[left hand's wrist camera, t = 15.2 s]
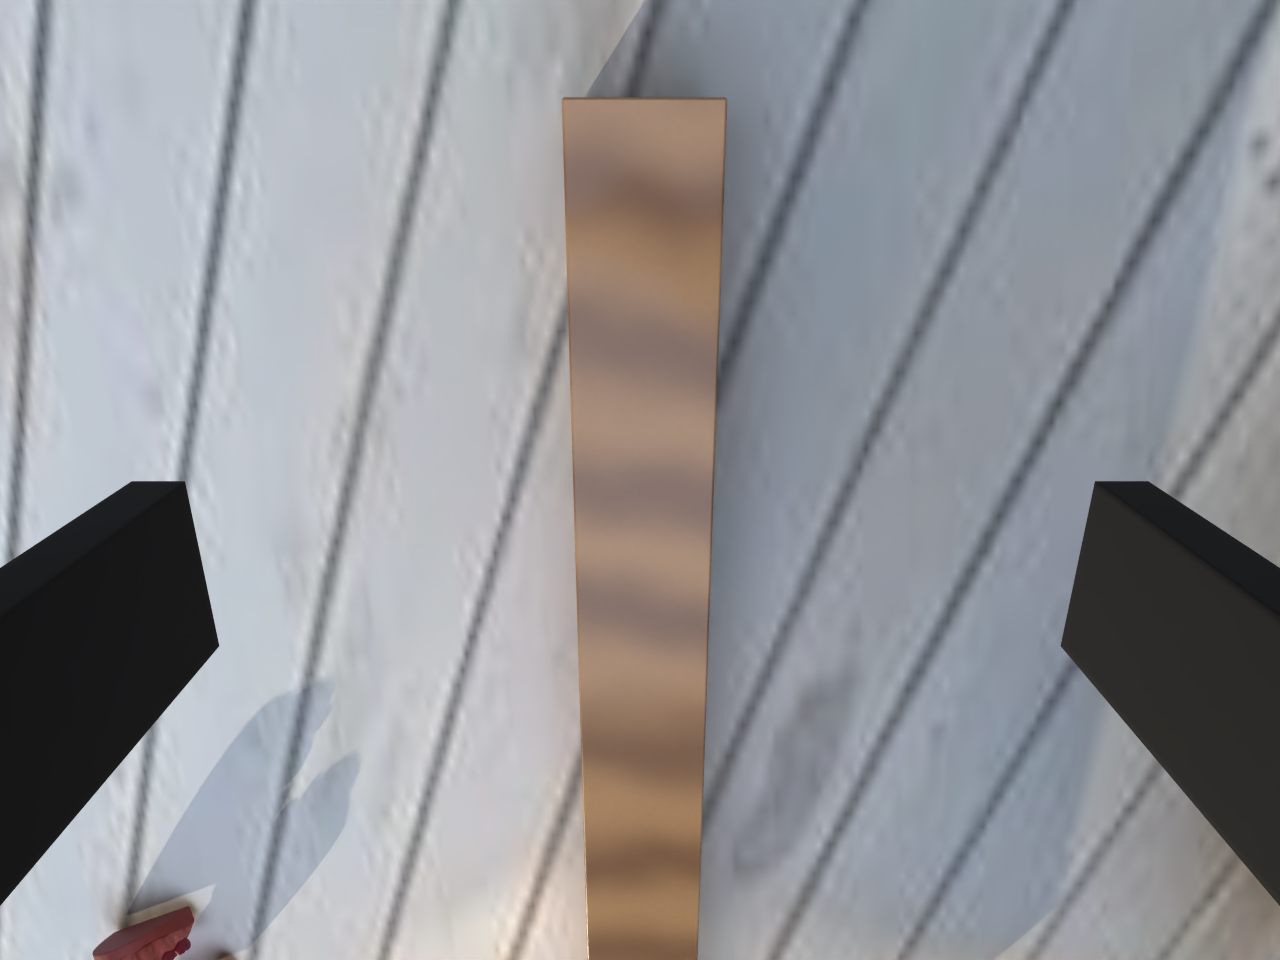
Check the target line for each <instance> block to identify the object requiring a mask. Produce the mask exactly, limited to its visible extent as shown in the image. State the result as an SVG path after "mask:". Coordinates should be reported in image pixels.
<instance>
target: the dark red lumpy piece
mask: <svg viewBox="0 0 1280 960" xmlns="http://www.w3.org/2000/svg"><path fill="white" fill-rule="evenodd" d="M193 923H194V918H193V915H192V912H191V910H190V907H185V908H182V909H179V910H176V911H173V912H170V913H168V914H165V915H162V916H159V917H156V918H153V919H150V920H148V921H145V922H142V923H139V924H136V925H134V926H131V927H128V928H125V929H122V930H120V931H117V932H115V933H113V934H112V935H111V936H109V937H108V938H107V939H105V940H104V941H103V942H102V943H101V944H100V945H98V946H97V947H96V949H95V950H94V951H93V957H94V959H95V960H173V959H174V958H175V957H176V956H177V954H178V955H181V954H182V953H184V952H185V951H186V950H188V949H189V948H190V946H191V944H190V941H189V940H188V939H187V937H188V935H189V933H190V931H191V928H192V926H193Z"/></svg>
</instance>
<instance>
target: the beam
mask: <svg viewBox="0 0 1280 960" xmlns="http://www.w3.org/2000/svg"><path fill="white" fill-rule="evenodd" d="M726 115H727V99H726V98H632V97H564V98H563V99H562V120H563V153H564V187H565V220H566V254H567V287H568V321H569V354H570V388H571V421H572V455H573V489H574V522H575V556H576V589H577V623H578V656H579V690H580V723H581V757H582V790H583V824H584V857H585V891H586V924H587V958H588V960H697V953H698V924H699V895H700V866H701V837H702V809H703V780H704V751H705V722H706V693H707V664H708V635H709V606H710V577H711V548H712V520H713V491H714V462H715V433H716V404H717V375H718V346H719V317H720V288H721V259H722V231H723V202H724V173H725V144H726Z"/></svg>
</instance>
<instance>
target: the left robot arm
mask: <svg viewBox="0 0 1280 960" xmlns="http://www.w3.org/2000/svg"><path fill="white" fill-rule="evenodd" d="M218 647H219V643H218V638H217V633H216V628H215V623H214V619H213V614H212V609H211V604H210V599H209V595H208V590H207V585H206V580H205V575H204V571H203V566H202V561H201V556H200V551H199V547H198V542H197V537H196V532H195V527H194V523H193V518H192V513H191V508H190V503H189V499H188V494H187V489H186V484H185V481H132V482H130V483H129V484H127V485H126V486H124V487H123V488H121V489H120V490H118V491H116V492H115V493H113V494H112V495H110V496H109V497H107V498H106V499H104V500H103V501H101V502H100V503H98V504H97V505H95V506H94V507H92V508H91V509H89V510H88V511H86V512H85V513H83V514H82V515H80V516H79V517H77V518H75V519H74V520H72V521H71V522H69V523H68V524H66V525H65V526H63V527H62V528H60V529H59V530H57V531H56V532H54V533H53V534H51V535H50V536H48V537H47V538H45V539H44V540H42V541H41V542H39V543H37V544H36V545H34V546H33V547H31V548H30V549H28V550H27V551H25V552H24V553H22V554H21V555H19V556H18V557H16V558H15V559H13V560H12V561H10V562H9V563H7V564H6V565H4V566H3V567H1V568H0V905H1V904H2V903H3V902H4V901H5V899H6V898H7V897H8V896H9V895H10V894H11V892H12V891H13V890H14V889H15V888H16V886H17V885H18V884H19V883H20V882H21V880H22V879H23V878H24V877H25V876H26V875H27V873H28V872H29V871H30V870H31V869H32V867H33V866H34V865H35V864H36V863H37V861H38V860H39V859H40V858H41V857H42V856H43V854H44V853H45V852H46V851H47V850H48V848H49V847H50V846H51V845H52V844H53V843H54V841H55V840H56V839H57V838H58V837H59V835H60V834H61V833H62V832H63V831H64V829H65V828H66V827H67V826H68V825H69V824H70V822H71V821H72V820H73V819H74V818H75V816H76V815H77V814H78V813H79V812H80V810H81V809H82V808H83V807H84V806H85V805H86V803H87V802H88V801H89V800H90V799H91V797H92V796H93V795H94V794H95V793H96V792H97V790H98V789H99V788H100V787H101V786H102V784H103V783H104V782H105V781H106V780H107V778H108V777H109V776H110V775H111V774H112V773H113V771H114V770H115V769H116V768H117V767H118V765H119V764H120V763H121V762H122V761H123V759H124V758H125V757H126V756H127V755H128V754H129V752H130V751H131V750H132V749H133V748H134V746H135V745H136V744H137V743H138V742H139V741H140V739H141V738H142V737H143V736H144V735H145V733H146V732H147V731H148V730H149V729H150V727H151V726H152V725H153V724H154V723H155V722H156V720H157V719H158V718H159V717H160V716H161V714H162V713H163V712H164V711H165V710H166V709H167V707H168V706H169V705H170V704H171V703H172V701H173V700H174V699H175V698H176V697H177V695H178V694H179V693H180V692H181V691H182V690H183V688H184V687H185V686H186V685H187V684H188V682H189V681H190V680H191V679H192V678H193V676H194V675H195V674H196V673H197V672H198V671H199V669H200V668H201V667H202V666H203V665H204V663H205V662H206V661H207V660H208V659H209V658H210V656H211V655H212V654H213V653H214V652H215V650H216V649H217V648H218ZM1061 647H1062V648H1063V649H1064V650H1065V652H1066V653H1067V654H1068V655H1069V656H1070V658H1071V659H1072V660H1073V661H1074V662H1075V663H1076V665H1077V666H1078V667H1079V668H1080V669H1081V671H1082V672H1083V673H1084V674H1085V675H1086V676H1087V678H1088V679H1089V680H1090V681H1091V682H1092V684H1093V685H1094V686H1095V687H1096V688H1097V690H1098V691H1099V692H1100V693H1101V694H1102V695H1103V697H1104V698H1105V699H1106V700H1107V701H1108V703H1109V704H1110V705H1111V706H1112V707H1113V709H1114V710H1115V711H1116V712H1117V713H1118V714H1119V716H1120V717H1121V718H1122V719H1123V720H1124V722H1125V723H1126V724H1127V725H1128V726H1129V727H1130V729H1131V730H1132V731H1133V732H1134V733H1135V735H1136V736H1137V737H1138V738H1139V739H1140V741H1141V742H1142V743H1143V744H1144V745H1145V746H1146V748H1147V749H1148V750H1149V751H1150V752H1151V754H1152V755H1153V756H1154V757H1155V758H1156V759H1157V761H1158V762H1159V763H1160V764H1161V765H1162V767H1163V768H1164V769H1165V770H1166V771H1167V773H1168V774H1169V775H1170V776H1171V777H1172V778H1173V780H1174V781H1175V782H1176V783H1177V784H1178V786H1179V787H1180V788H1181V789H1182V790H1183V792H1184V793H1185V794H1186V795H1187V796H1188V797H1189V799H1190V800H1191V801H1192V802H1193V803H1194V805H1195V806H1196V807H1197V808H1198V809H1199V810H1200V812H1201V813H1202V814H1203V815H1204V816H1205V818H1206V819H1207V820H1208V821H1209V822H1210V824H1211V825H1212V826H1213V827H1214V828H1215V829H1216V831H1217V832H1218V833H1219V834H1220V835H1221V837H1222V838H1223V839H1224V840H1225V841H1226V843H1227V844H1228V845H1229V846H1230V847H1231V848H1232V850H1233V851H1234V852H1235V853H1236V854H1237V856H1238V857H1239V858H1240V859H1241V860H1242V861H1243V863H1244V864H1245V865H1246V866H1247V867H1248V869H1249V870H1250V871H1251V872H1252V873H1253V875H1254V876H1255V877H1256V878H1257V879H1258V880H1259V882H1260V883H1261V884H1262V885H1263V886H1264V888H1265V889H1266V890H1267V891H1268V892H1269V894H1270V895H1271V896H1272V897H1273V898H1274V899H1275V901H1276V902H1277V903H1278V904H1279V905H1280V568H1279V567H1277V566H1276V565H1274V564H1273V563H1271V562H1270V561H1268V560H1267V559H1265V558H1264V557H1262V556H1261V555H1259V554H1258V553H1256V552H1255V551H1253V550H1252V549H1250V548H1249V547H1247V546H1246V545H1244V544H1243V543H1241V542H1239V541H1238V540H1236V539H1235V538H1233V537H1232V536H1230V535H1229V534H1227V533H1226V532H1224V531H1223V530H1221V529H1220V528H1218V527H1217V526H1215V525H1214V524H1212V523H1211V522H1209V521H1208V520H1206V519H1205V518H1203V517H1201V516H1200V515H1198V514H1197V513H1195V512H1194V511H1192V510H1191V509H1189V508H1188V507H1186V506H1185V505H1183V504H1182V503H1180V502H1179V501H1177V500H1176V499H1174V498H1173V497H1171V496H1170V495H1168V494H1167V493H1165V492H1164V491H1162V490H1160V489H1159V488H1157V487H1156V486H1154V485H1153V484H1151V483H1150V482H1148V481H1095V484H1094V489H1093V494H1092V499H1091V503H1090V508H1089V513H1088V518H1087V523H1086V527H1085V532H1084V537H1083V542H1082V547H1081V551H1080V556H1079V561H1078V566H1077V571H1076V575H1075V580H1074V585H1073V590H1072V595H1071V599H1070V604H1069V609H1068V614H1067V619H1066V623H1065V628H1064V633H1063V638H1062V643H1061Z"/></svg>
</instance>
